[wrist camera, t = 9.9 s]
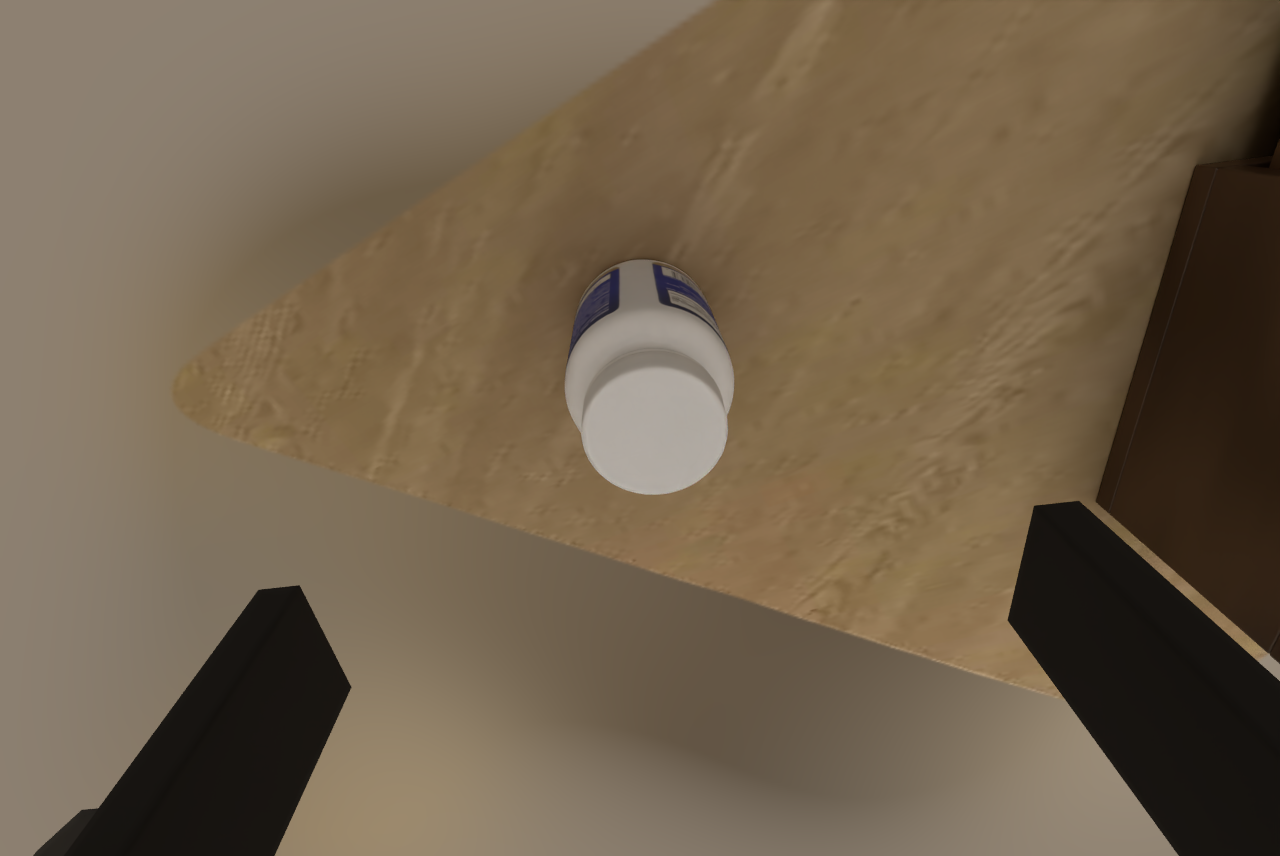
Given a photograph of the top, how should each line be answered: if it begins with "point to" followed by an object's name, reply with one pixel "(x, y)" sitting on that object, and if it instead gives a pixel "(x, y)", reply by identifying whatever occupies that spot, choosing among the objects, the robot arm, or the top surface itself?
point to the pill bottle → (649, 378)
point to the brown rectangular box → (1212, 403)
